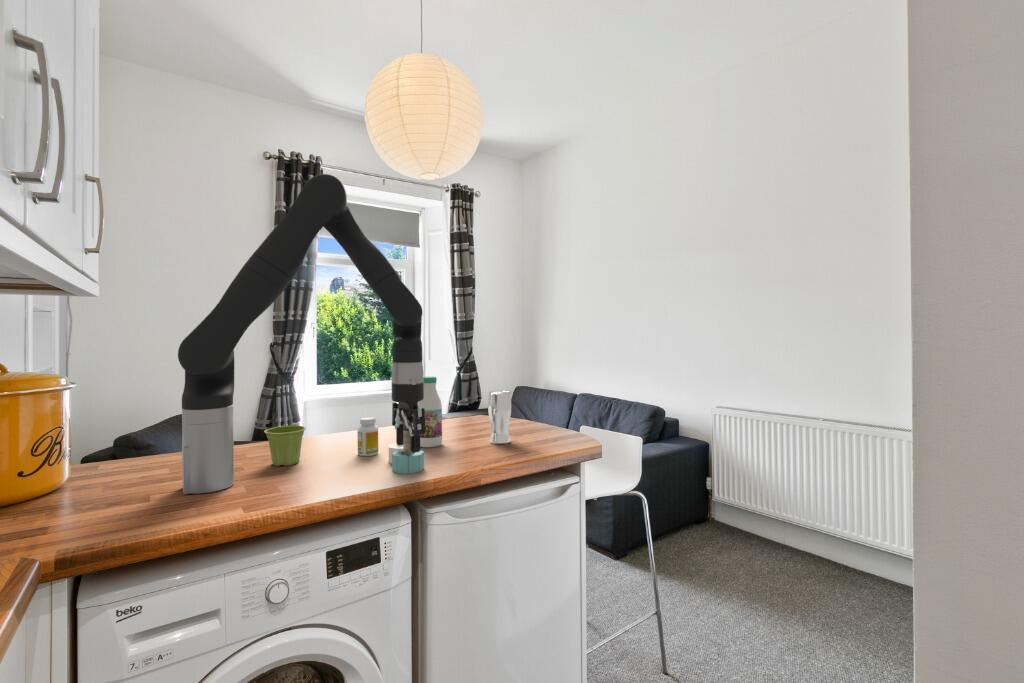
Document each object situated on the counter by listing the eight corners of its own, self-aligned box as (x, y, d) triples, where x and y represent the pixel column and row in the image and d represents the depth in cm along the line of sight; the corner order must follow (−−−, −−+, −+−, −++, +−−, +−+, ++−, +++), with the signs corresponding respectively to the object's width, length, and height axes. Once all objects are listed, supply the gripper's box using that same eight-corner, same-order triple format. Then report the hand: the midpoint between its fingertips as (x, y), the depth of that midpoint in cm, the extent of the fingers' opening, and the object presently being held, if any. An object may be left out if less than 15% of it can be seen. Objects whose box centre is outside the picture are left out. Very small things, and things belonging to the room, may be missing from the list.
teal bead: (400, 475, 111) (399, 458, 111) (388, 468, 117) (388, 451, 117) (427, 470, 115) (427, 453, 115) (415, 463, 121) (415, 447, 121)
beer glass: (515, 441, 146) (515, 391, 145) (503, 445, 140) (503, 394, 140) (496, 438, 149) (496, 390, 149) (483, 442, 144) (483, 392, 143)
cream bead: (403, 465, 119) (402, 449, 119) (383, 461, 123) (382, 446, 122) (422, 459, 125) (422, 444, 125) (402, 455, 128) (402, 440, 128)
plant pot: (276, 470, 115) (276, 434, 115) (257, 464, 121) (257, 429, 120) (313, 462, 122) (312, 428, 122) (293, 456, 128) (293, 424, 128)
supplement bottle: (381, 451, 133) (381, 416, 133) (373, 456, 128) (373, 420, 127) (362, 451, 134) (362, 416, 133) (354, 456, 128) (354, 420, 128)
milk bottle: (414, 443, 144) (413, 376, 143) (439, 441, 146) (439, 375, 145) (417, 449, 136) (416, 378, 136) (444, 447, 138) (443, 377, 138)
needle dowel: (405, 470, 115) (405, 424, 114) (402, 468, 116) (401, 423, 116) (414, 469, 116) (414, 423, 116) (410, 467, 118) (410, 422, 117)
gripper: (381, 379, 119) (382, 444, 120) (404, 384, 108) (405, 456, 108) (410, 377, 124) (410, 440, 124) (435, 382, 112) (435, 451, 112)
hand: (408, 448), depth 116 cm, fingers open, 8 cm apart
